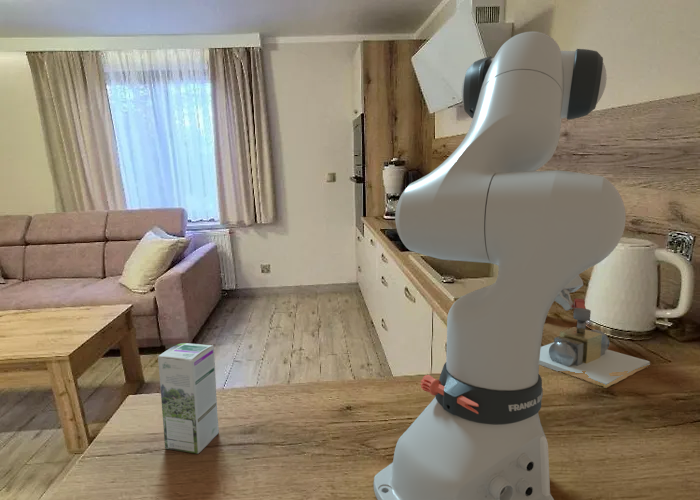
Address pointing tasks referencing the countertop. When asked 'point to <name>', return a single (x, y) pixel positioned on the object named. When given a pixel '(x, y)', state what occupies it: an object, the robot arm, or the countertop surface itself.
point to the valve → (578, 345)
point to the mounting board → (596, 365)
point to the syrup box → (188, 396)
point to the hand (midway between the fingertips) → (571, 308)
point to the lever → (581, 310)
